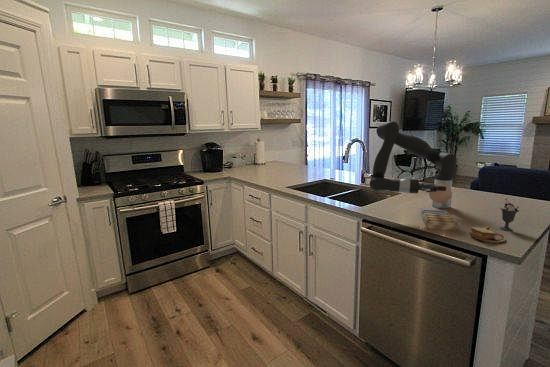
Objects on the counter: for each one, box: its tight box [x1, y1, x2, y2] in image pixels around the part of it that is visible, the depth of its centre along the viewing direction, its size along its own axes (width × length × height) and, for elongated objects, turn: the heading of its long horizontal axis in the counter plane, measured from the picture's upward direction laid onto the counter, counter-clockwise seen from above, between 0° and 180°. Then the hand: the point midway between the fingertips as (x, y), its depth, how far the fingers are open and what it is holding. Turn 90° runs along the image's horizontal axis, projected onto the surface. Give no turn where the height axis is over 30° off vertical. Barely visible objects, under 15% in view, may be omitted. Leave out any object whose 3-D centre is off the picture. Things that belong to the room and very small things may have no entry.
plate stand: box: [419, 208, 449, 218], centre depth 148 cm, size 12×6×4 cm, turn 70°
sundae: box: [499, 198, 520, 232], centre depth 128 cm, size 7×7×15 cm
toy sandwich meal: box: [469, 225, 506, 244], centre depth 121 cm, size 12×14×5 cm
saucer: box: [428, 184, 452, 203], centre depth 141 cm, size 10×2×10 cm, turn 69°
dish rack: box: [421, 213, 458, 232], centre depth 138 cm, size 13×13×4 cm
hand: (445, 188), depth 140 cm, fingers closed on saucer, 1 cm apart
